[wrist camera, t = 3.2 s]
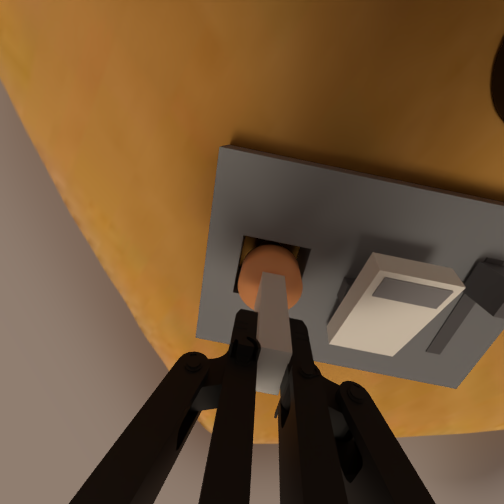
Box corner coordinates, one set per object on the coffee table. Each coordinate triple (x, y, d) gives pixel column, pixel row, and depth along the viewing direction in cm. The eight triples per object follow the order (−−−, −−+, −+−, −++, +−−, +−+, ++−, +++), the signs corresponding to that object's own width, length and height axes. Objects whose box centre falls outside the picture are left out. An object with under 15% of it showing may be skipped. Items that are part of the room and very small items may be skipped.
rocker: (372, 252, 15) (380, 271, 14) (451, 268, 16) (467, 289, 14) (326, 326, 21) (329, 345, 19) (386, 338, 21) (393, 358, 19)
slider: (479, 261, 18) (517, 284, 15) (512, 268, 18) (556, 292, 15) (460, 290, 19) (493, 316, 16) (492, 296, 19) (530, 324, 16)
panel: (229, 144, 20) (216, 147, 15) (529, 207, 20) (608, 229, 15) (206, 309, 26) (192, 346, 22) (431, 354, 27) (464, 400, 22)
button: (250, 224, 22) (243, 252, 16) (301, 234, 22) (310, 266, 16) (241, 268, 23) (233, 307, 18) (288, 278, 23) (293, 319, 18)
